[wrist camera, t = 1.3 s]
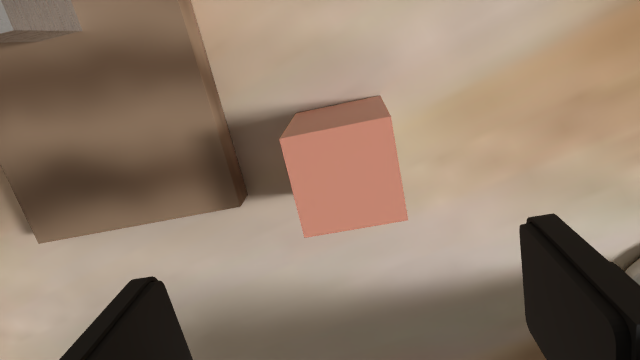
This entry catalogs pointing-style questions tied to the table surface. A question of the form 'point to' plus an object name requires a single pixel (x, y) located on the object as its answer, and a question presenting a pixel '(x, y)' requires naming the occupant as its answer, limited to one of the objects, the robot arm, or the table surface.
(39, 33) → the post
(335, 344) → the table surface
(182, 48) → the base board
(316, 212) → the salmon toy brick
